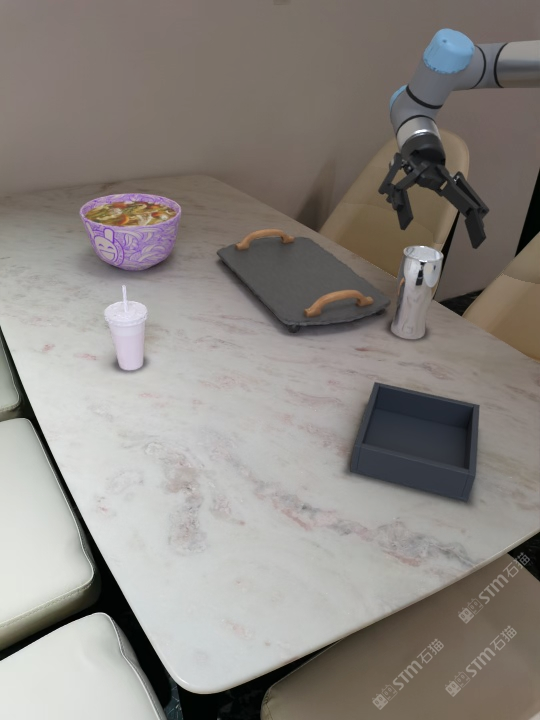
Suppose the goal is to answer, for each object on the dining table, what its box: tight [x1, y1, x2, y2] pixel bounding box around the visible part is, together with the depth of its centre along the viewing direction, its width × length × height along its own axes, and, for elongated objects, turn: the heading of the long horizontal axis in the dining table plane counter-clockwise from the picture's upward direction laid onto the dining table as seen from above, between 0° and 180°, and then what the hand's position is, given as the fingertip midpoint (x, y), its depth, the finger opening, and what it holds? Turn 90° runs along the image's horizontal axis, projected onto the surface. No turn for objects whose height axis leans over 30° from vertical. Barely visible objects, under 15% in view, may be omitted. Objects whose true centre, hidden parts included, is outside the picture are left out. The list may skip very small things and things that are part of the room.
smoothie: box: [103, 284, 149, 371], centre depth 90 cm, size 6×6×14 cm
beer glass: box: [390, 245, 444, 340], centre depth 103 cm, size 7×7×15 cm
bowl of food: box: [78, 193, 182, 272], centre depth 123 cm, size 20×20×12 cm
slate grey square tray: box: [349, 381, 481, 503], centre depth 79 cm, size 15×15×5 cm
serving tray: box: [216, 228, 392, 334], centre depth 118 cm, size 39×23×6 cm, turn 26°
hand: (444, 233), depth 96 cm, fingers open, 13 cm apart
